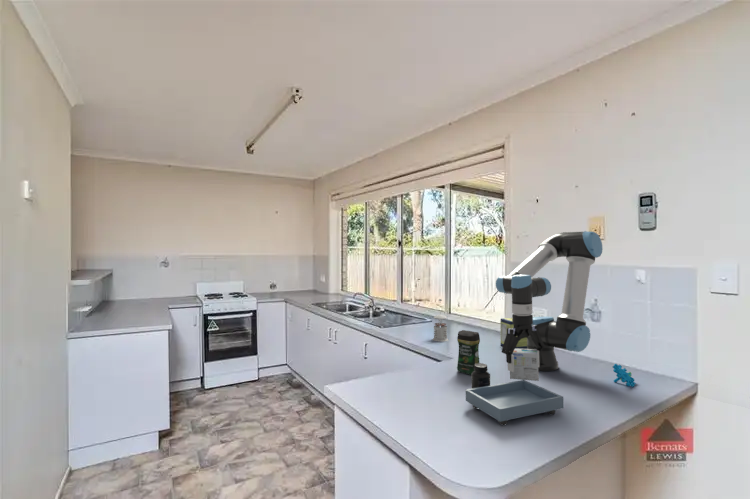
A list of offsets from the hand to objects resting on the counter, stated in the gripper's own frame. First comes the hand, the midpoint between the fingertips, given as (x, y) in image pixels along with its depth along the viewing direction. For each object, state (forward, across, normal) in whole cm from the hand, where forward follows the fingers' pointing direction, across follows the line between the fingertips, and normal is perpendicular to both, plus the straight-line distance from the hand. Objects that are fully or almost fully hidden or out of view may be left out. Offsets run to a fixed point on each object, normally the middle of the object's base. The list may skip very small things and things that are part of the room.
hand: (523, 368), depth 153 cm
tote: (+7, -19, -15) cm, 25 cm away
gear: (+9, +41, -12) cm, 44 cm away
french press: (+9, +14, +86) cm, 87 cm away
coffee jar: (+8, -8, +26) cm, 28 cm away
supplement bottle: (+8, -21, 0) cm, 22 cm away
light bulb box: (+4, 0, 0) cm, 4 cm away
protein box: (+10, +44, +53) cm, 70 cm away
